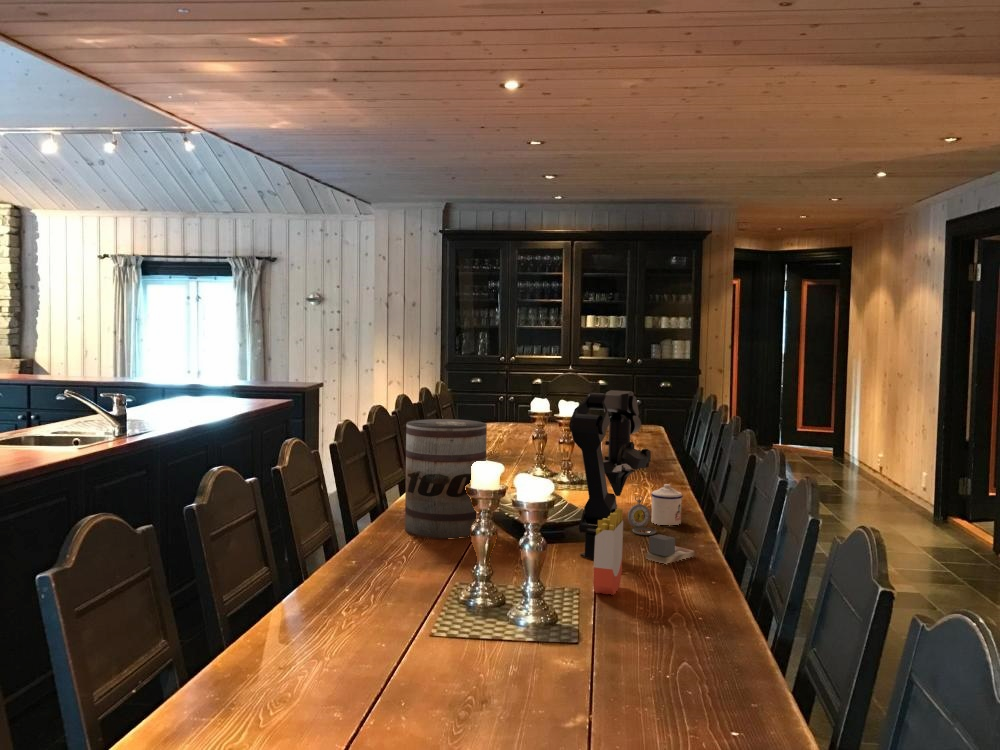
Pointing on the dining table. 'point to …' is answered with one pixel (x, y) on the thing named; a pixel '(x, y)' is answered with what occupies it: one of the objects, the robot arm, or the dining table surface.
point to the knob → (661, 545)
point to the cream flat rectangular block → (671, 556)
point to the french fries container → (608, 553)
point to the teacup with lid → (666, 506)
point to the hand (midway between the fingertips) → (617, 495)
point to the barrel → (441, 476)
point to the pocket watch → (637, 514)
